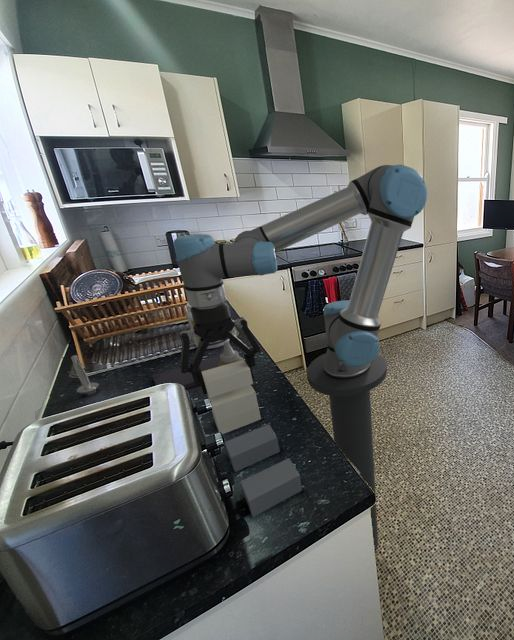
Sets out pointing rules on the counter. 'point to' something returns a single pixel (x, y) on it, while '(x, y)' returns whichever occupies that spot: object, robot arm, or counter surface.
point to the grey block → (252, 447)
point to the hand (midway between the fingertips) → (228, 384)
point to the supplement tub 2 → (197, 338)
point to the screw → (84, 379)
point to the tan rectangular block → (227, 378)
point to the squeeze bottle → (228, 355)
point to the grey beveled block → (271, 486)
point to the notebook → (185, 378)
